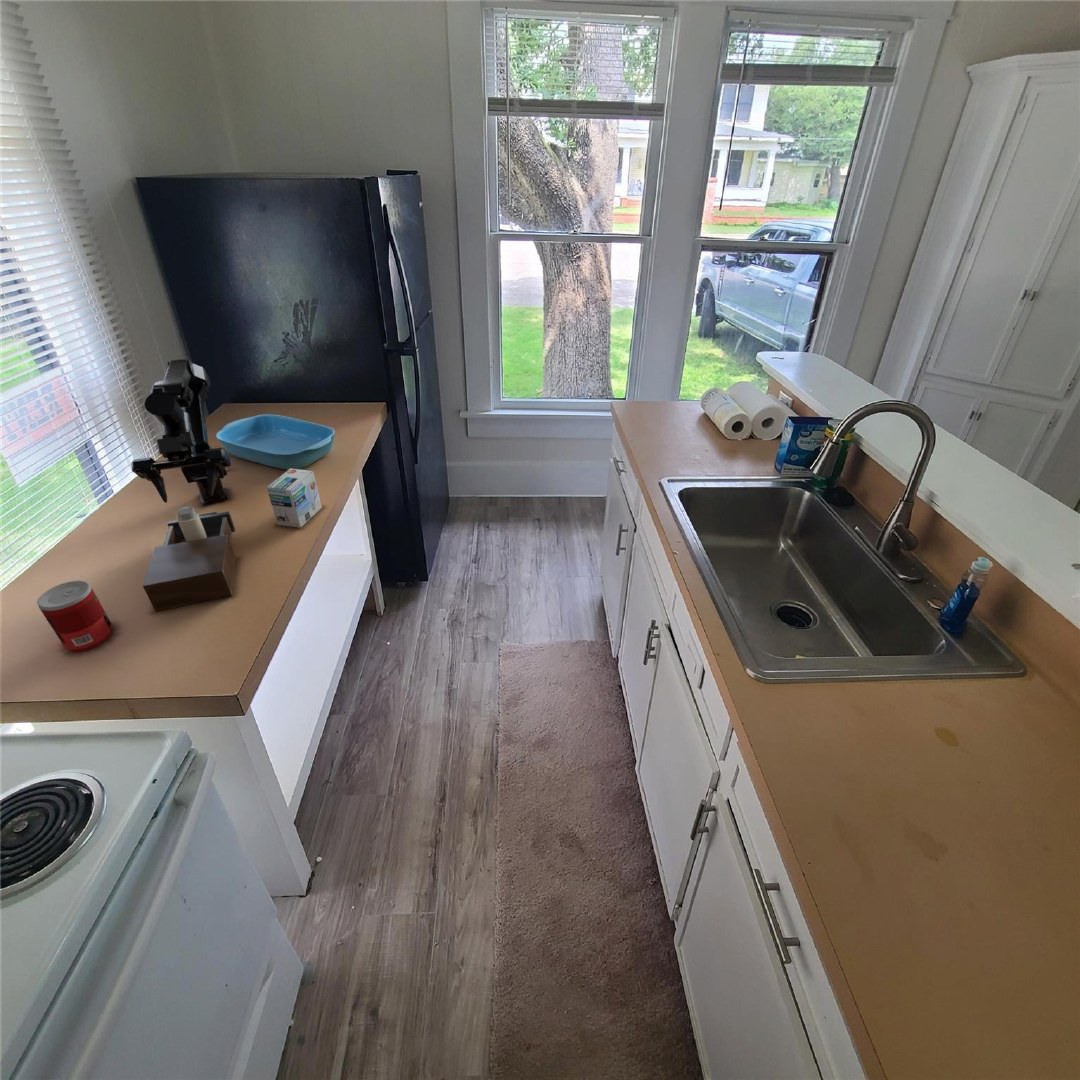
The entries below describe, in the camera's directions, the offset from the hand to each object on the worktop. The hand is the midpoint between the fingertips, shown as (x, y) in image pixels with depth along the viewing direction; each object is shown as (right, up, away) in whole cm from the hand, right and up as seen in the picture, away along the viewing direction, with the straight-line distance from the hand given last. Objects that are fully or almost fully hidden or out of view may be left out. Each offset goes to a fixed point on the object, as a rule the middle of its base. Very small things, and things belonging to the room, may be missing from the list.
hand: (188, 498), depth 130 cm
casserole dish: (0, +17, +47) cm, 50 cm away
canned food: (-7, -28, -20) cm, 35 cm away
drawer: (+1, -10, +5) cm, 12 cm away
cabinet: (+6, -19, -6) cm, 21 cm away
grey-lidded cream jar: (+2, -11, +2) cm, 12 cm away
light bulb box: (+18, -3, +17) cm, 25 cm away
